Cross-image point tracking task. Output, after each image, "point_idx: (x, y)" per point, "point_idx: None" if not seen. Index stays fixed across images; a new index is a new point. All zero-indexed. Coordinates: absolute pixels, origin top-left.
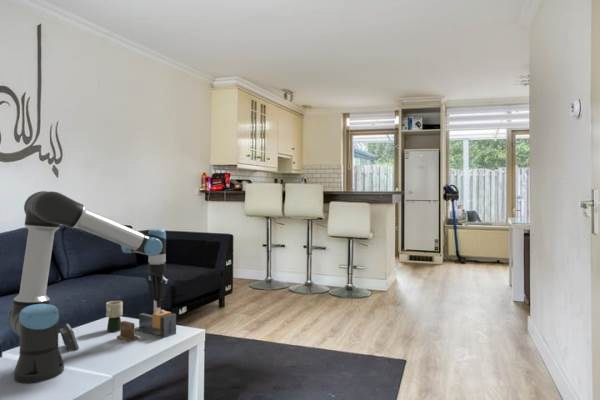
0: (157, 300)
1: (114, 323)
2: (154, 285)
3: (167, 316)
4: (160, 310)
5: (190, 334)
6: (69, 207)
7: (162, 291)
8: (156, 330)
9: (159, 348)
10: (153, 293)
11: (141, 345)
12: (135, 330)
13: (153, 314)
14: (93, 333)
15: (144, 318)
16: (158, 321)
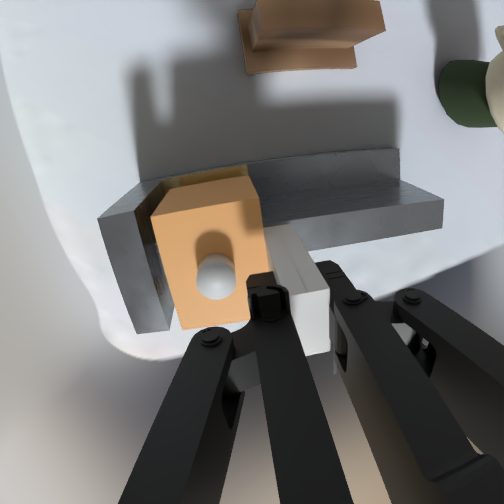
0: (252, 309)
1: (467, 72)
2: (423, 486)
3: (114, 259)
4: (222, 270)
5: (106, 304)
6: None
7: (149, 449)
8: None
9: (28, 97)
10: (379, 353)
11: (125, 40)
12: (386, 148)
13: (244, 198)
14: (473, 22)
15: (384, 198)
16: (179, 197)
